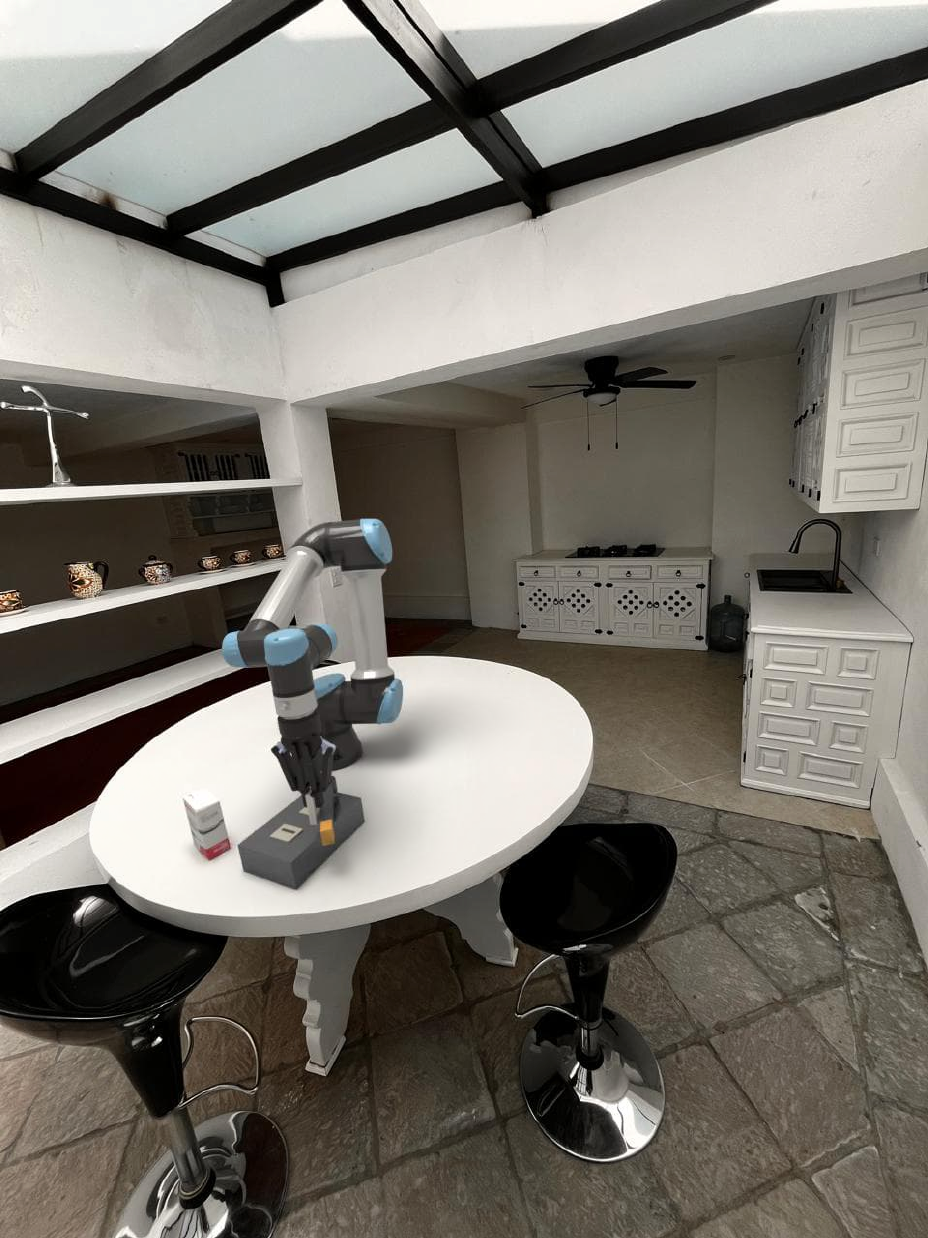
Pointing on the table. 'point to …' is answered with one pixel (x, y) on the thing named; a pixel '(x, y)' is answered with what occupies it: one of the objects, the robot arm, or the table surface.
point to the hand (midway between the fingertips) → (316, 820)
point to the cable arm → (328, 814)
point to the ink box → (207, 823)
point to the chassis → (297, 841)
